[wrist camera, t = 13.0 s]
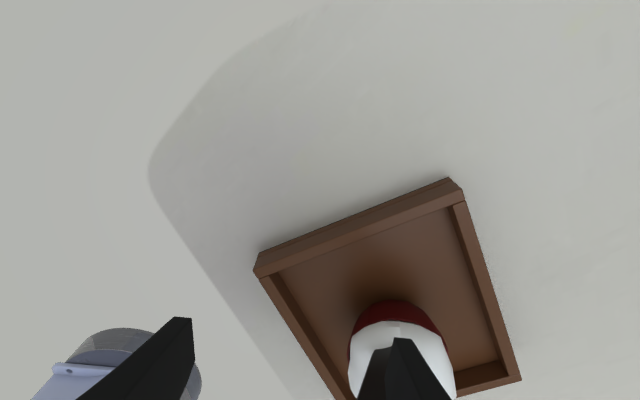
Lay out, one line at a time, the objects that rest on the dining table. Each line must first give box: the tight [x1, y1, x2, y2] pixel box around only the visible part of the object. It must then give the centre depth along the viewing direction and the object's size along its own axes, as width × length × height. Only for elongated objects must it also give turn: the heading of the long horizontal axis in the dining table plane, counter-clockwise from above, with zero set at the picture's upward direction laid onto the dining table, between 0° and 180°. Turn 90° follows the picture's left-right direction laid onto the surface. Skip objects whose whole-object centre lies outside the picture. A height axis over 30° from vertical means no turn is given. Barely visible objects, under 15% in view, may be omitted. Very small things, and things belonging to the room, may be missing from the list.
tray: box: [253, 177, 522, 400], centre depth 22 cm, size 17×14×2 cm
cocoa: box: [346, 299, 457, 400], centre depth 17 cm, size 10×6×12 cm, turn 1°
